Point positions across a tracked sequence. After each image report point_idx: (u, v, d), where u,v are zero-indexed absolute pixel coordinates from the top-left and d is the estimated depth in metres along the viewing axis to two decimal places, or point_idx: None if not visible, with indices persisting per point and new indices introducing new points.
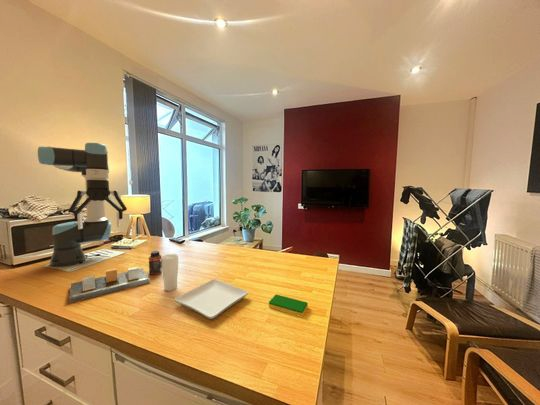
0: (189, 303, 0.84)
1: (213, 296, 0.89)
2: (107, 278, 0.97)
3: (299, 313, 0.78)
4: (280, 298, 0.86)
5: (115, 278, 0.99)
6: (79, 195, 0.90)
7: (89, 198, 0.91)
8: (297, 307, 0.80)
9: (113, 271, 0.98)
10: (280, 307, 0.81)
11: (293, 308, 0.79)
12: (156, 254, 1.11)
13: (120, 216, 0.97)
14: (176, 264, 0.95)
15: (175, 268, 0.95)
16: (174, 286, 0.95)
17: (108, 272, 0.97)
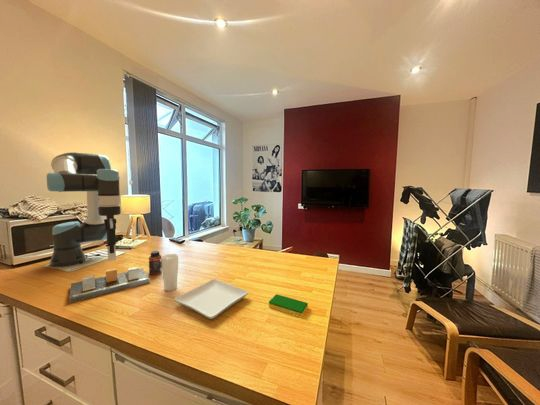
0: (189, 303, 0.84)
1: (213, 296, 0.89)
2: (107, 278, 0.97)
3: (299, 313, 0.78)
4: (280, 298, 0.86)
5: (115, 278, 0.99)
6: None
7: (105, 226, 0.91)
8: (296, 307, 0.80)
9: (113, 271, 0.98)
10: (280, 307, 0.81)
11: (293, 308, 0.79)
12: (156, 254, 1.11)
13: (109, 250, 0.91)
14: (176, 264, 0.95)
15: (175, 268, 0.95)
16: (174, 286, 0.95)
17: (108, 272, 0.97)
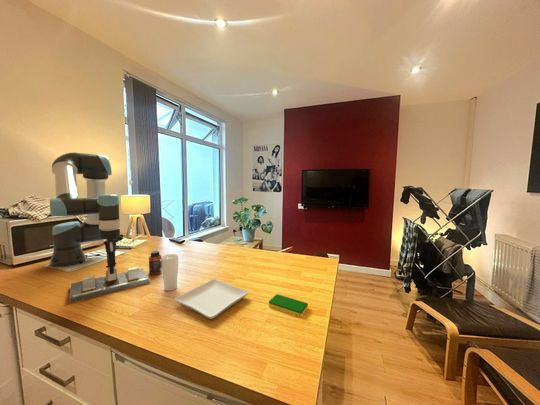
0: (189, 303, 0.84)
1: (213, 296, 0.89)
2: (107, 277, 0.98)
3: (298, 313, 0.78)
4: (280, 298, 0.86)
5: None
6: None
7: None
8: (296, 307, 0.80)
9: None
10: (280, 307, 0.81)
11: (292, 308, 0.79)
12: (156, 254, 1.11)
13: (109, 271, 0.95)
14: (176, 264, 0.95)
15: (175, 268, 0.95)
16: (174, 286, 0.95)
17: None
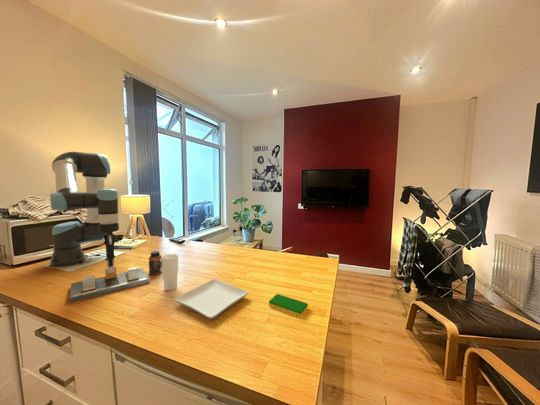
0: (189, 303, 0.84)
1: (213, 296, 0.89)
2: (106, 275, 1.00)
3: (298, 313, 0.78)
4: (281, 298, 0.86)
5: (114, 275, 1.02)
6: None
7: None
8: (296, 307, 0.80)
9: None
10: (279, 307, 0.81)
11: (292, 308, 0.79)
12: (156, 254, 1.11)
13: (108, 263, 0.98)
14: (176, 264, 0.95)
15: (175, 268, 0.95)
16: (174, 286, 0.95)
17: None
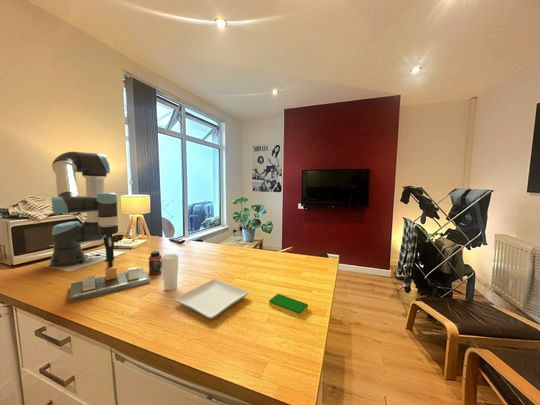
0: (189, 303, 0.84)
1: (213, 296, 0.89)
2: (107, 276, 0.99)
3: (297, 314, 0.77)
4: (281, 298, 0.87)
5: (114, 276, 1.01)
6: None
7: (104, 243, 1.02)
8: (295, 307, 0.80)
9: (112, 269, 1.00)
10: (279, 306, 0.82)
11: (291, 308, 0.79)
12: (156, 254, 1.11)
13: (108, 265, 1.01)
14: (176, 264, 0.95)
15: (175, 268, 0.95)
16: (174, 286, 0.95)
17: (108, 270, 0.99)
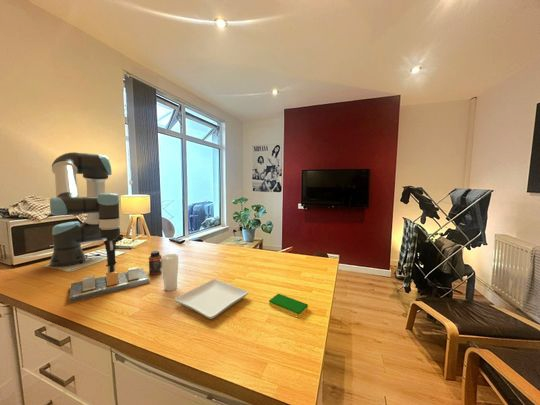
0: (189, 303, 0.84)
1: (213, 296, 0.89)
2: (108, 281, 0.93)
3: (296, 314, 0.77)
4: (281, 297, 0.87)
5: (116, 281, 0.95)
6: None
7: (105, 246, 0.96)
8: (295, 307, 0.80)
9: (114, 274, 0.95)
10: (279, 306, 0.82)
11: (291, 308, 0.79)
12: (156, 254, 1.11)
13: (109, 270, 0.96)
14: (176, 264, 0.95)
15: (175, 268, 0.95)
16: (174, 286, 0.95)
17: (109, 275, 0.93)
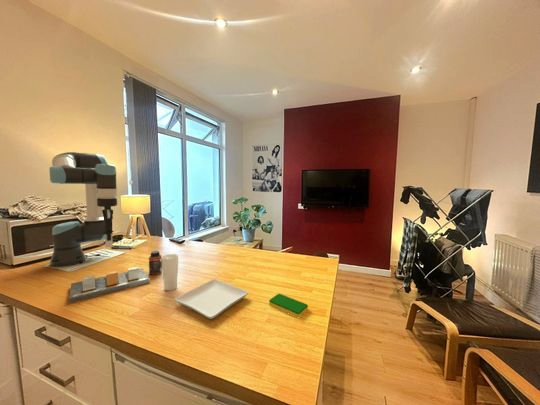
0: (189, 303, 0.84)
1: (213, 296, 0.89)
2: (108, 281, 0.94)
3: (296, 314, 0.77)
4: (281, 297, 0.87)
5: (116, 281, 0.95)
6: None
7: None
8: (295, 307, 0.80)
9: (114, 274, 0.95)
10: (279, 306, 0.82)
11: (291, 308, 0.79)
12: (156, 254, 1.11)
13: (107, 238, 1.00)
14: (176, 264, 0.95)
15: (175, 268, 0.95)
16: (174, 286, 0.95)
17: (109, 275, 0.94)
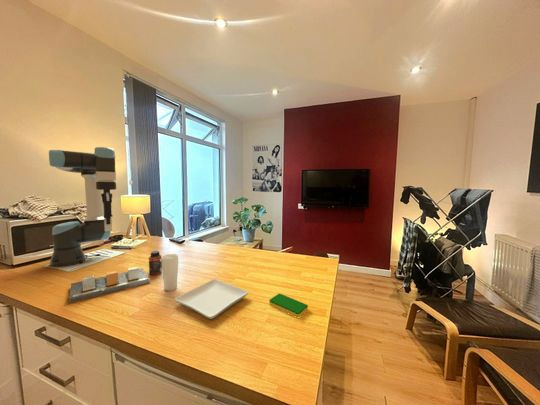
0: (189, 303, 0.84)
1: (213, 296, 0.89)
2: (108, 281, 0.94)
3: (295, 314, 0.77)
4: (282, 297, 0.87)
5: (116, 281, 0.95)
6: None
7: (102, 199, 1.01)
8: (295, 307, 0.80)
9: (114, 274, 0.95)
10: (279, 306, 0.82)
11: (290, 308, 0.79)
12: (156, 254, 1.11)
13: (106, 221, 1.00)
14: (176, 264, 0.95)
15: (175, 268, 0.95)
16: (174, 286, 0.95)
17: (109, 275, 0.94)
